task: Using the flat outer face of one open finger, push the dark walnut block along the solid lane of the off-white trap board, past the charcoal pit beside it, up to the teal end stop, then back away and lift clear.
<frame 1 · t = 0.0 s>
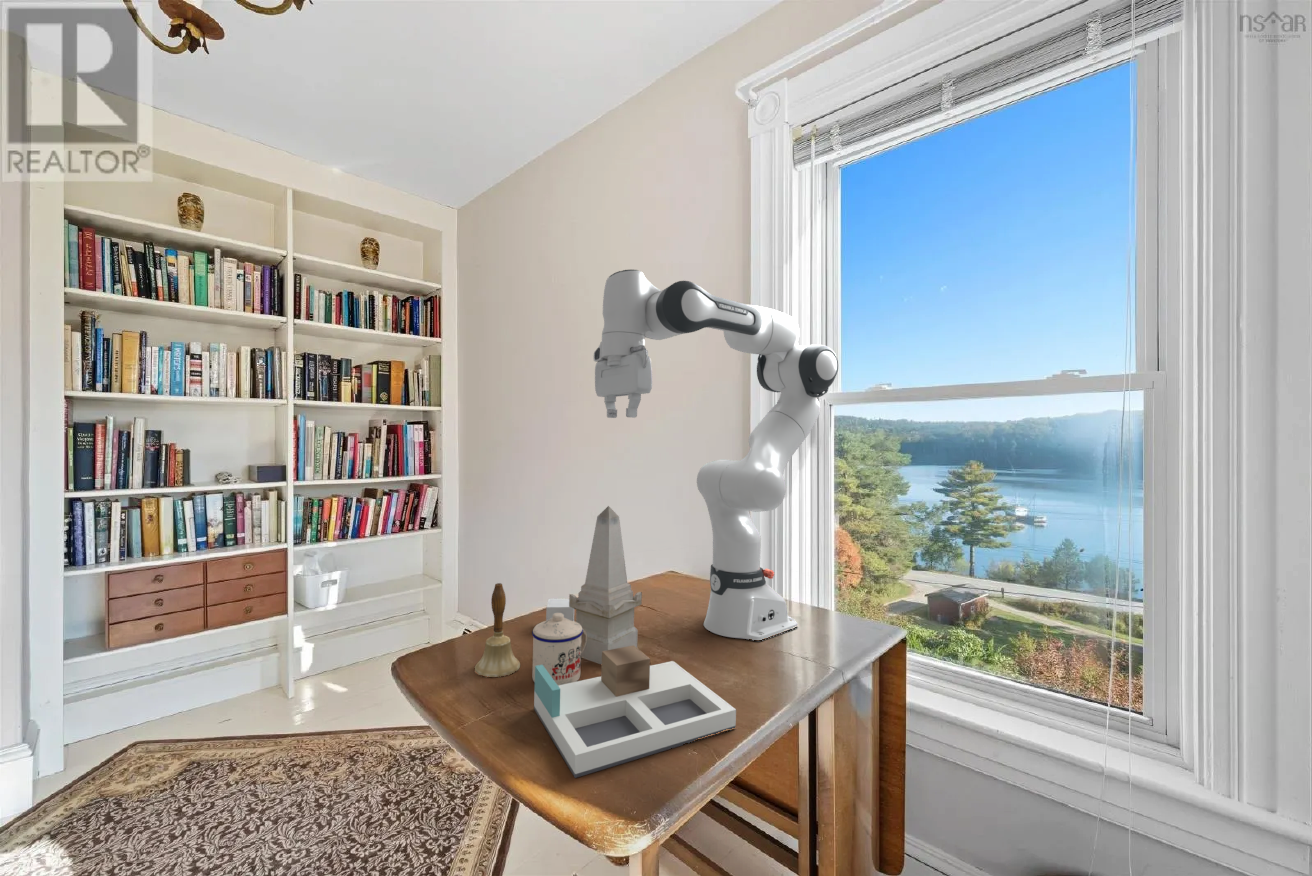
hand: (621, 417, 109), 48 cm above the table, tool pointing down, fingers open, 8 cm apart
teacup with lid: (562, 676, 98), on the table
trap board: (632, 718, 83), on the table
hand bell: (497, 669, 100), on the table
white cube: (560, 629, 120), on the table
miniature monument: (604, 653, 108), on the table
walnut block: (624, 684, 88), point 3 cm above the table, touching trap board
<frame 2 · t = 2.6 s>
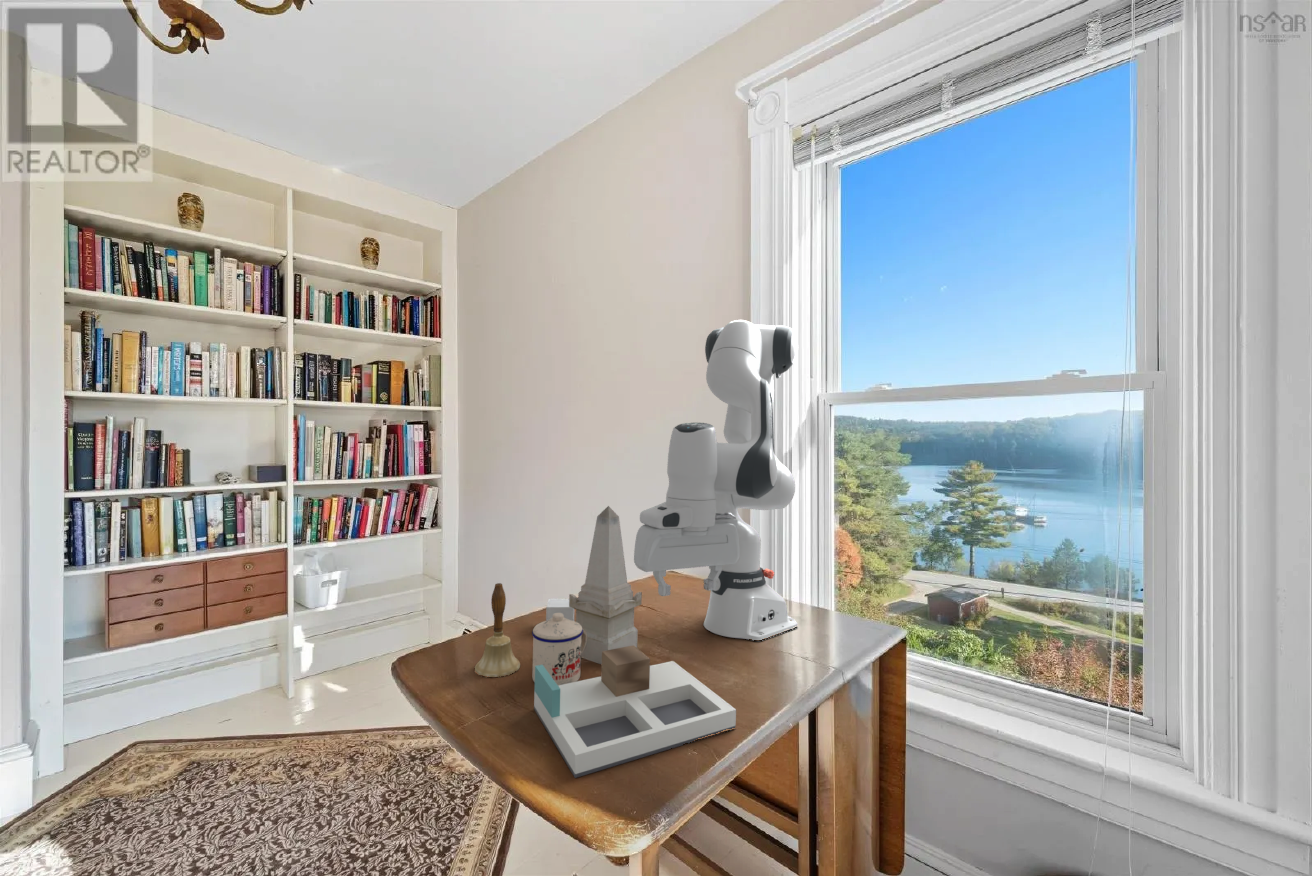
hand: (687, 592, 94), 17 cm above the table, tool pointing down, fingers open, 8 cm apart
nothing on the table moved.
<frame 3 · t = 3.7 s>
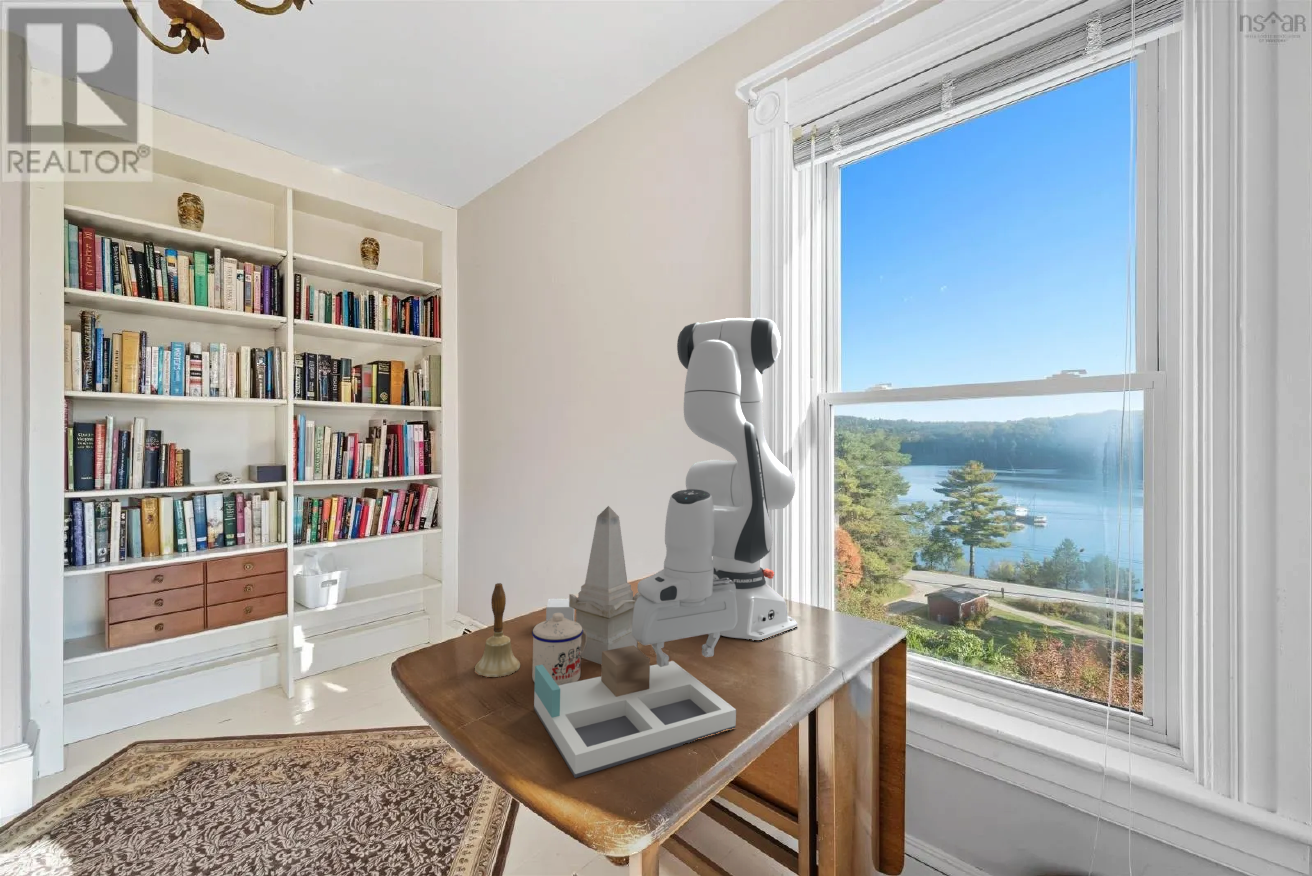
hand: (685, 660, 94), 5 cm above the table, tool pointing down, fingers open, 8 cm apart
nothing on the table moved.
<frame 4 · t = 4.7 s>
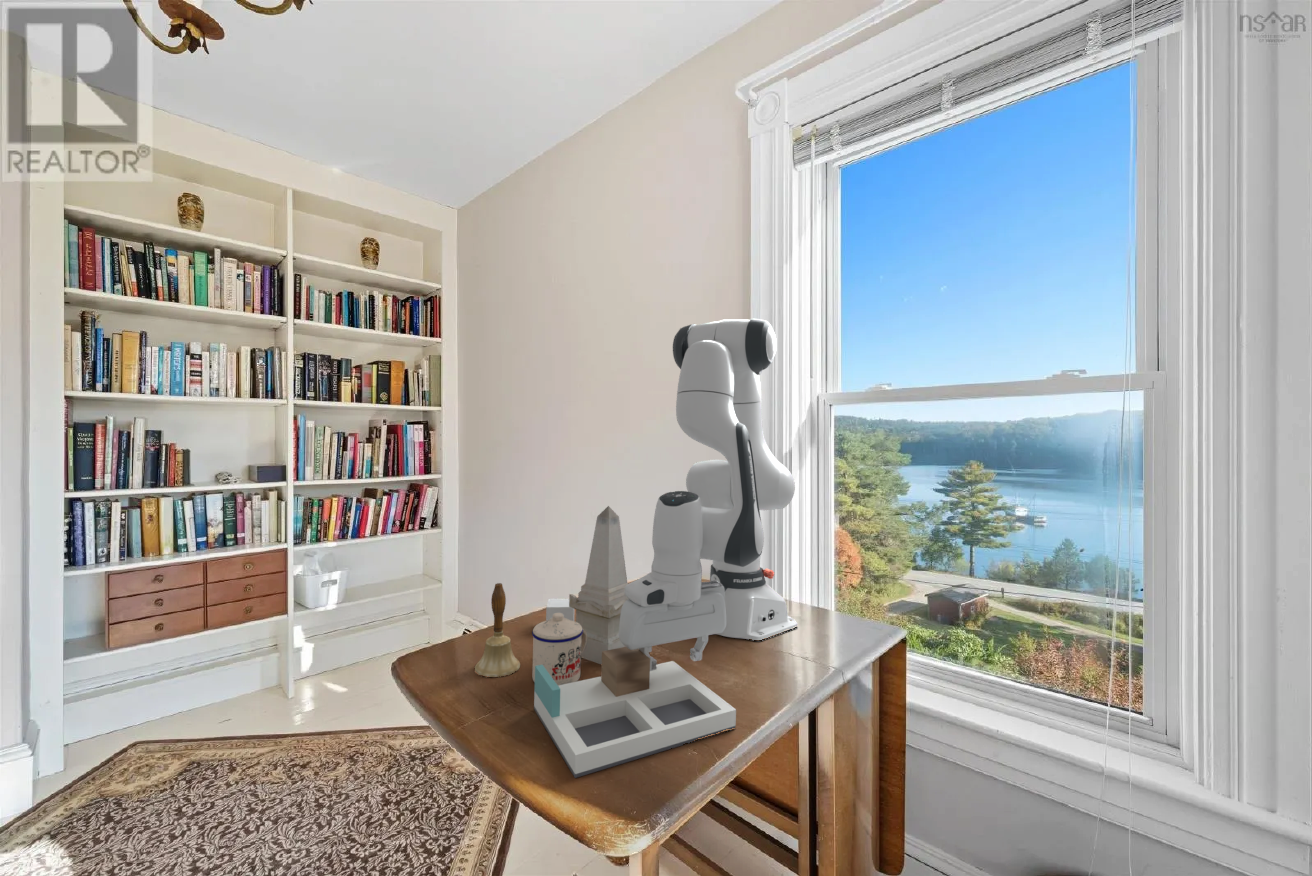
hand: (673, 664, 93), 5 cm above the table, tool pointing down, fingers open, 8 cm apart
walnut block: (624, 684, 88), point 3 cm above the table, touching gripper, trap board
everything else where it was.
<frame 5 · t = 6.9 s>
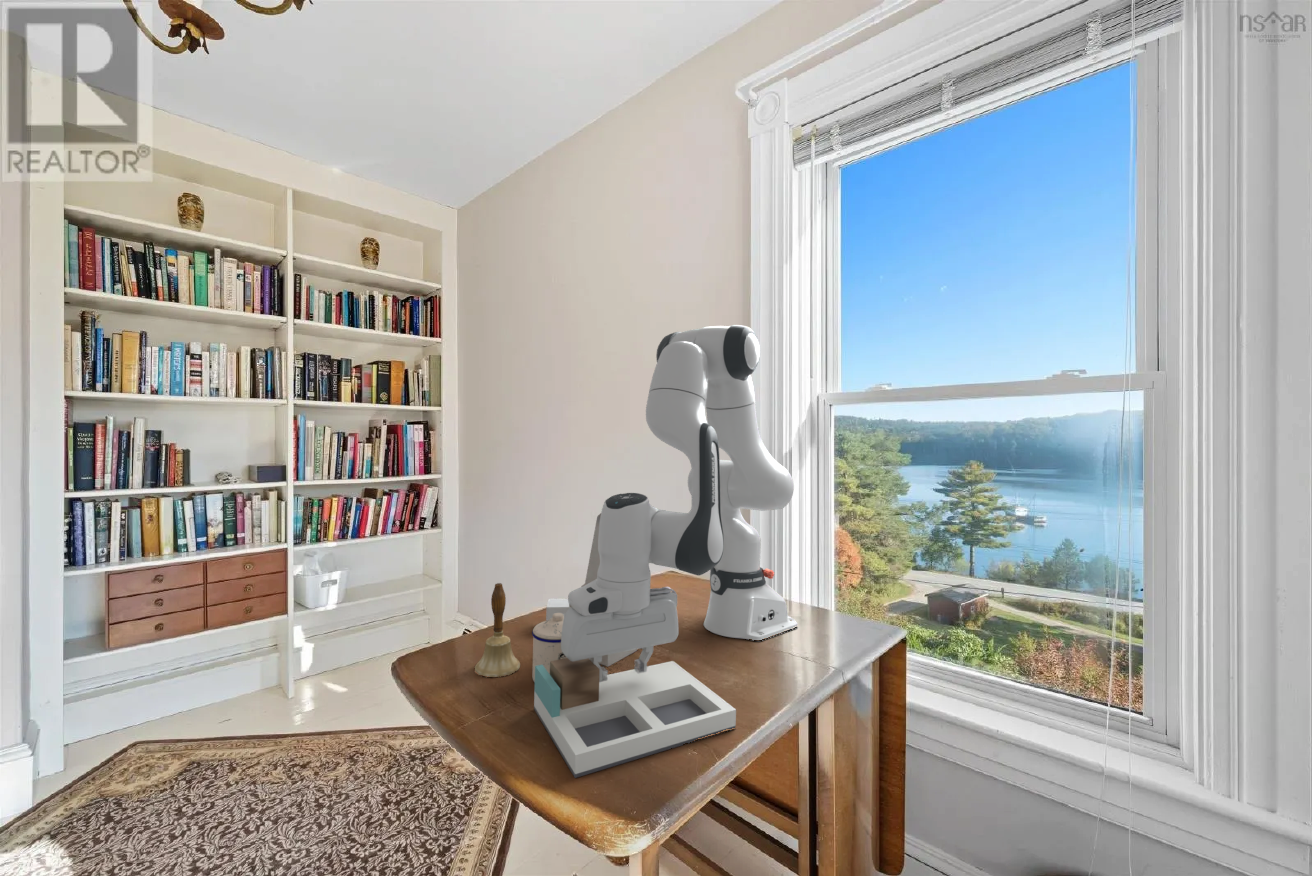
hand: (621, 675, 88), 5 cm above the table, tool pointing down, fingers open, 6 cm apart
walnut block: (573, 696, 84), point 3 cm above the table, touching gripper, trap board
everything else where it was.
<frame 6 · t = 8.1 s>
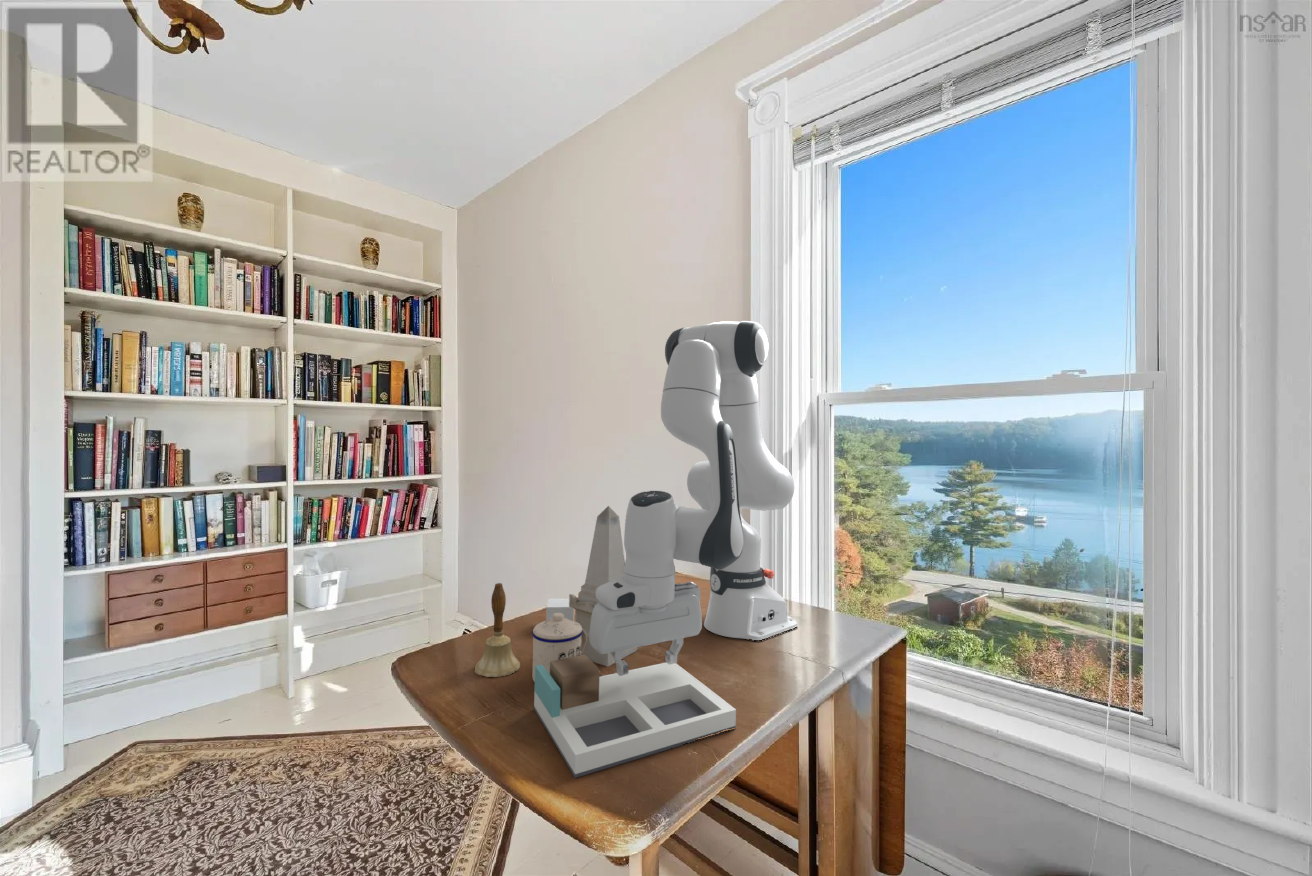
hand: (647, 668, 90), 5 cm above the table, tool pointing down, fingers open, 8 cm apart
walnut block: (573, 696, 84), point 3 cm above the table, touching trap board
everything else where it was.
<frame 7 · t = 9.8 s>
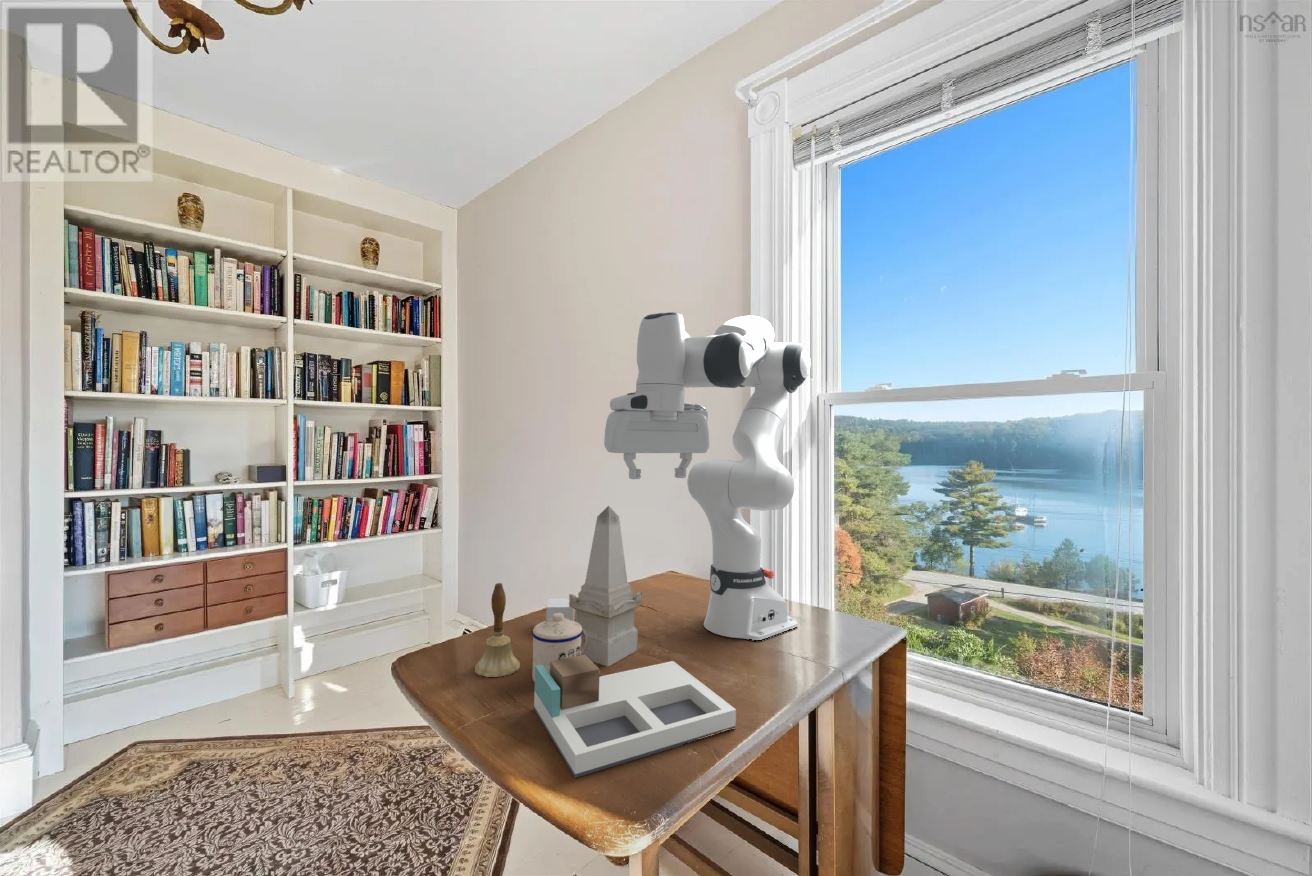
hand: (658, 478, 96), 37 cm above the table, tool pointing down, fingers open, 8 cm apart
nothing on the table moved.
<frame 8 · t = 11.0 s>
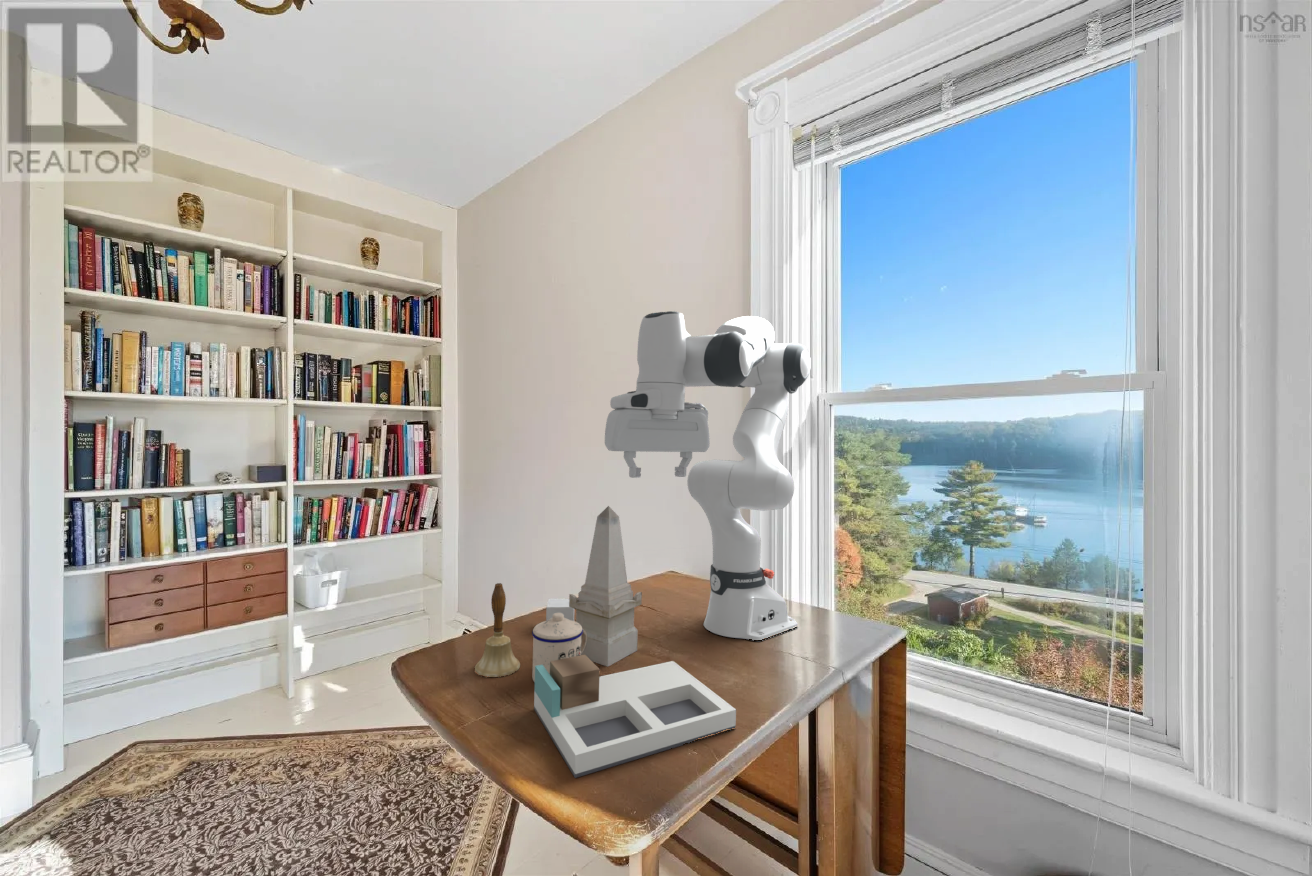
hand: (658, 477, 96), 37 cm above the table, tool pointing down, fingers open, 8 cm apart
nothing on the table moved.
at the end: walnut block 0.5 cm from the target spot on the trap board, point 3.0 cm above the trap board's base; walnut block tilted 0° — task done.
